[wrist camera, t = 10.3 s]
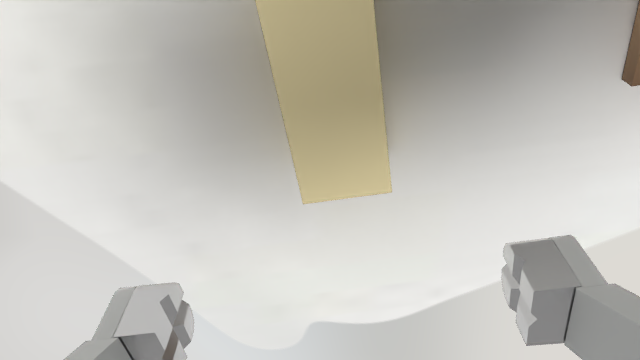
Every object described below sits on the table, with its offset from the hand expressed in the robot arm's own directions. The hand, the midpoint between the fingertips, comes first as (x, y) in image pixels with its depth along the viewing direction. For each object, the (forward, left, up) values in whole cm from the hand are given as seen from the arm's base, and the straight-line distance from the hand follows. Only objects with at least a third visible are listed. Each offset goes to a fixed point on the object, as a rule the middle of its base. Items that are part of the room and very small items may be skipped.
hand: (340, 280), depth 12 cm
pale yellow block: (-1, 0, -12) cm, 12 cm away
